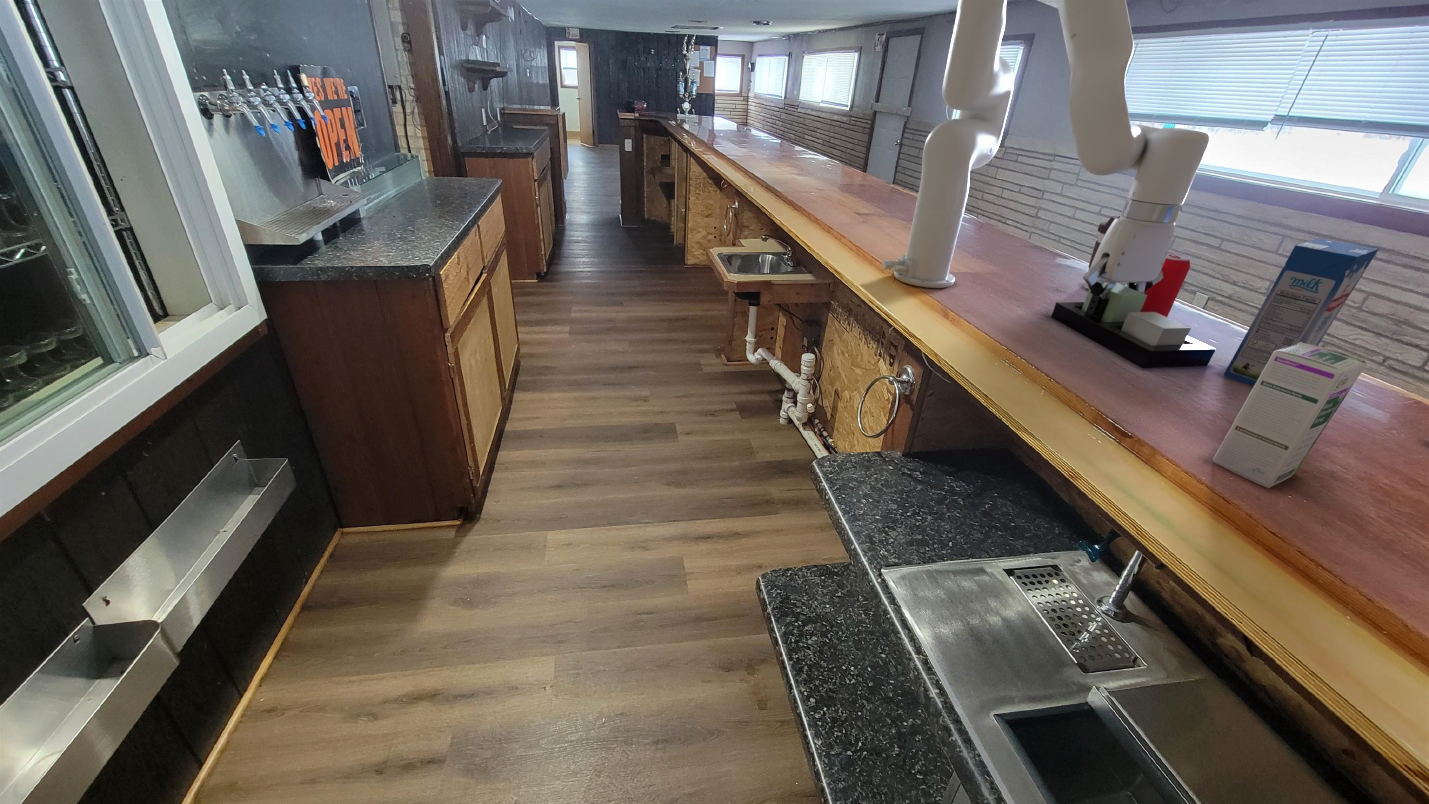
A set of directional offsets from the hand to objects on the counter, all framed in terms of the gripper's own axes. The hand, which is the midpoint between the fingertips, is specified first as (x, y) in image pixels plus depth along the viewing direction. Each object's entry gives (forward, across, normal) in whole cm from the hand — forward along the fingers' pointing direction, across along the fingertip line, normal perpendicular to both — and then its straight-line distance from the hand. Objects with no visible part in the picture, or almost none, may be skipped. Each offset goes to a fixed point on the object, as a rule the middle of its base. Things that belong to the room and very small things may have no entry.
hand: (1107, 316), depth 101 cm
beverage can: (+3, -14, -5) cm, 15 cm away
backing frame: (+2, 0, +5) cm, 5 cm away
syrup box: (+3, +15, +41) cm, 44 cm away
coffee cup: (+3, -18, -21) cm, 28 cm away
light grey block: (+2, 0, +10) cm, 10 cm away
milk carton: (+3, -11, +20) cm, 23 cm away
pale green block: (0, 0, 0) cm, 0 cm away
